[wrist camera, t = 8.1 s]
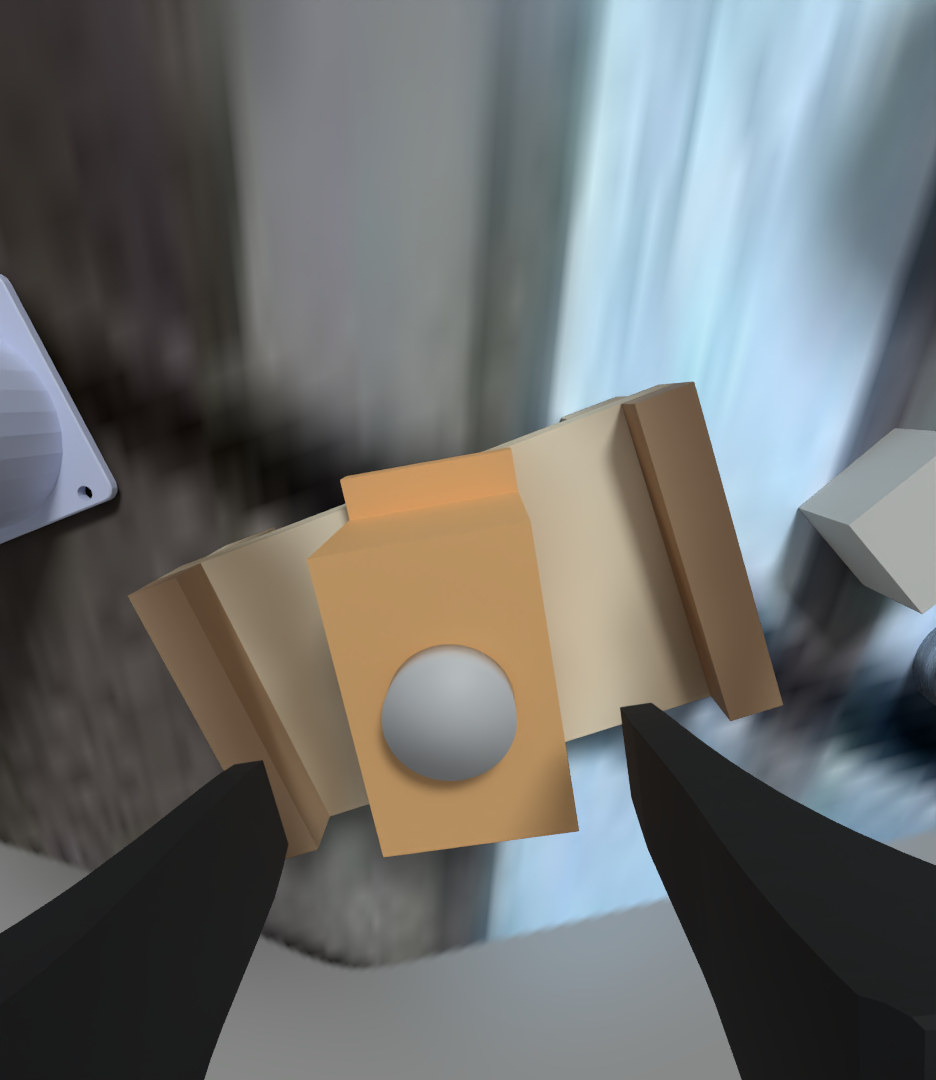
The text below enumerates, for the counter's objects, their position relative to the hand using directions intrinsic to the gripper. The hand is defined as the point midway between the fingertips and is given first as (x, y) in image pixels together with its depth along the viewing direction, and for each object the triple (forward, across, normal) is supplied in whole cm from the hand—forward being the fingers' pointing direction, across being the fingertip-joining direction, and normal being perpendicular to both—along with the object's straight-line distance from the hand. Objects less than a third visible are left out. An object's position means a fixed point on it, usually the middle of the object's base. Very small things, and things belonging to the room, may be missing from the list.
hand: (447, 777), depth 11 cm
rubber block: (+10, -15, -1) cm, 18 cm away
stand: (+10, 0, 0) cm, 10 cm away
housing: (+7, 0, 0) cm, 7 cm away
